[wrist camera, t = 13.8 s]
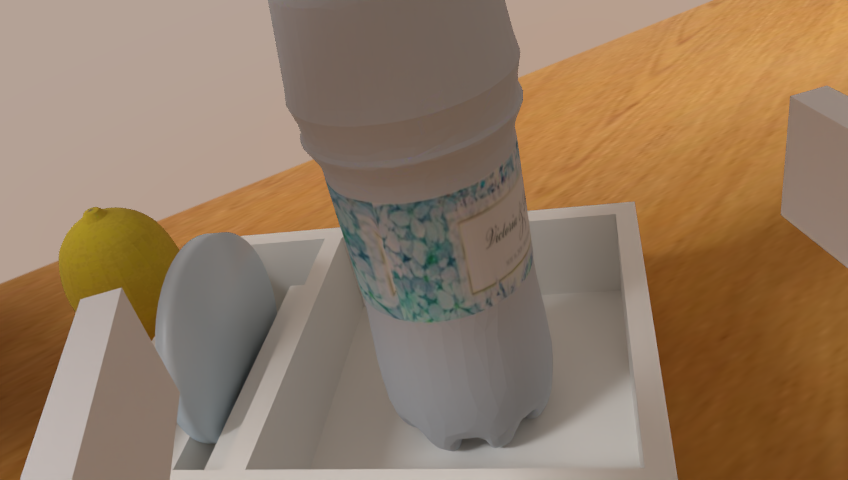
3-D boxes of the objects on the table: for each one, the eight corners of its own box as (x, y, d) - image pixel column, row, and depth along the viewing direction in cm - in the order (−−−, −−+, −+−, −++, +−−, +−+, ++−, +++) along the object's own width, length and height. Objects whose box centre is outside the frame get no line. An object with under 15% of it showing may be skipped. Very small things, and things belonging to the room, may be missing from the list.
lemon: (178, 292, 41) (117, 169, 37) (232, 325, 37) (171, 193, 33) (89, 351, 38) (10, 225, 34) (138, 393, 34) (57, 259, 30)
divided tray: (123, 581, 26) (-13, 405, 21) (254, 320, 37) (186, 164, 32) (681, 602, 22) (679, 384, 17) (639, 298, 33) (630, 113, 28)
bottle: (529, 496, 24) (400, -186, 13) (360, 448, 27) (140, -135, 16) (586, 357, 29) (526, -233, 18) (436, 330, 32) (305, -187, 21)
